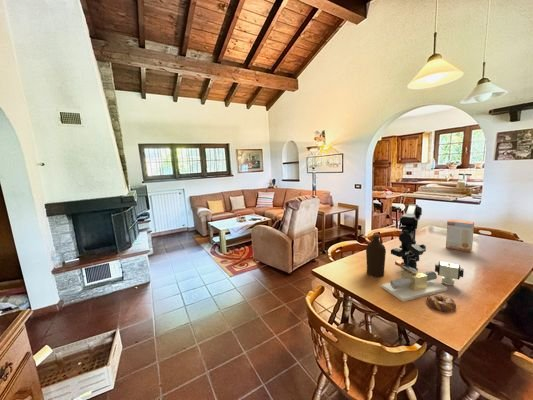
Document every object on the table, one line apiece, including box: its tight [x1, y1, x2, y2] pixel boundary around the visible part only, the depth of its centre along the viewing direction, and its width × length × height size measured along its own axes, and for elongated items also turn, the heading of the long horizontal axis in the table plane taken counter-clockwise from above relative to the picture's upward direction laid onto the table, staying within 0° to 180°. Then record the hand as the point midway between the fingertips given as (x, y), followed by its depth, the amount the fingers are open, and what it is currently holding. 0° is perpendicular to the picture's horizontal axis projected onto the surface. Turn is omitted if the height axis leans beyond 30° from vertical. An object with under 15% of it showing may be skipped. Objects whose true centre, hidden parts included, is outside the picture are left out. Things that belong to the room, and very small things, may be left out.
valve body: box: [389, 269, 438, 291], centre depth 119 cm, size 8×26×7 cm, turn 105°
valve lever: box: [394, 260, 418, 274], centre depth 123 cm, size 12×3×2 cm, turn 15°
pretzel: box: [426, 294, 457, 313], centre depth 105 cm, size 12×11×4 cm
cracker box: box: [445, 219, 475, 253], centre depth 163 cm, size 14×6×21 cm, turn 38°
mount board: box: [381, 280, 448, 302], centre depth 120 cm, size 14×28×2 cm, turn 105°
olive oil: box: [365, 233, 387, 278], centre depth 135 cm, size 11×11×25 cm
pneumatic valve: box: [434, 261, 464, 286], centre depth 121 cm, size 6×12×12 cm, turn 51°
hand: (406, 264), depth 128 cm, fingers closed
